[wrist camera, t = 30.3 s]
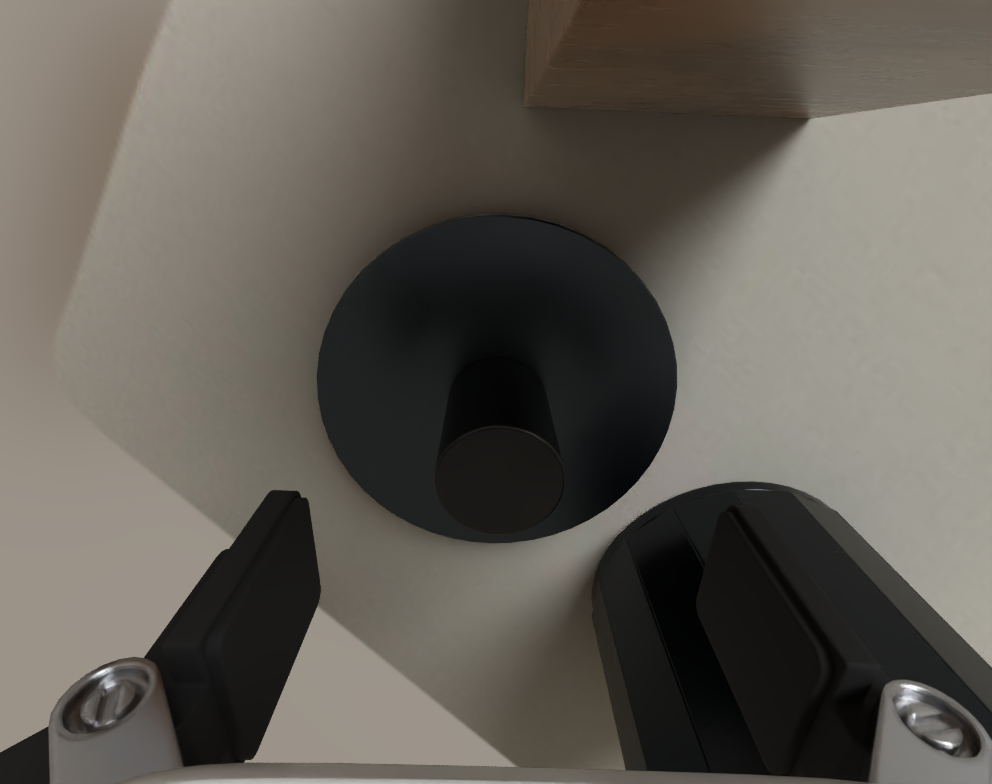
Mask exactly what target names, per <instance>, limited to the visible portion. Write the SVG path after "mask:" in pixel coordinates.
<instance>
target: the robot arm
mask: <svg viewBox="0 0 992 784" xmlns="http://www.w3.org/2000/svg"><path fill="white" fill-rule="evenodd" d="M320 593H321V585H320V578H319V571H318V564H317V557H316V550H315V543H314V536H313V529H312V522H311V515H310V508H309V502H308V499H307V498H301V495H300V493H299V492H298V491H282V490H272V491H270V492H269V493H268V494H267V496H266V497H265V499H264V500H263V502H262V503H261V504H260V506H259V507H258V509H257V510H256V511H255V513H254V514H253V516H252V517H251V519H250V520H249V521H248V523H247V524H246V526H245V527H244V528H243V530H242V531H241V533H240V534H239V536H238V537H237V538H236V540H235V541H234V543H233V544H232V546H231V547H230V548H229V549H226V550H224V551H222V552H221V553H220V554H219V555H218V556H217V557H216V559H215V560H214V562H213V563H212V564H211V566H210V567H209V569H208V570H207V571H206V572H205V574H204V575H203V577H202V578H201V579H200V581H199V582H198V584H197V585H196V586H195V588H194V589H193V590H192V592H191V593H190V595H189V596H188V597H187V599H186V600H185V602H184V603H183V604H182V606H181V607H180V608H179V610H178V611H177V613H176V614H175V615H174V617H173V618H172V620H171V621H170V622H169V624H168V625H167V627H166V628H165V629H164V631H163V632H162V633H161V635H160V636H159V638H158V639H157V640H156V642H155V643H154V645H153V646H152V647H151V649H150V650H149V651H148V653H147V654H146V656H145V657H144V658H138V657H132V658H125V659H119V660H116V661H113V662H110V663H108V664H105V665H102V666H100V667H99V668H97V669H95V670H93V671H91V672H90V673H88V674H86V675H85V676H84V677H82V678H81V679H80V680H79V681H77V682H76V683H75V684H73V685H72V686H71V687H70V688H69V689H68V690H67V691H66V693H64V695H63V696H62V697H61V698H60V699H59V701H58V702H57V704H56V706H55V707H54V709H53V711H52V712H51V716H50V721H49V726H48V727H46V728H45V729H43V730H41V731H39V732H37V733H36V734H34V735H32V736H30V737H28V738H26V739H24V740H23V741H21V742H19V743H17V744H15V745H13V746H11V747H10V748H8V749H6V750H4V751H2V752H0V784H992V740H991V738H990V737H989V735H988V734H987V732H986V731H985V729H984V728H983V726H982V725H981V724H980V723H979V722H978V720H977V719H976V718H975V717H974V716H973V715H972V714H971V713H970V712H969V711H968V710H966V709H965V708H964V707H963V706H961V705H960V704H959V703H958V702H956V701H955V700H954V699H952V698H951V697H949V696H947V695H945V694H944V693H942V692H940V691H939V690H937V689H935V688H932V687H930V686H927V685H925V684H923V683H920V682H915V681H910V680H893V681H891V680H890V679H889V678H888V677H887V675H886V674H885V673H884V671H883V670H882V669H881V665H880V664H879V663H878V661H877V660H876V659H875V658H874V656H873V655H872V654H871V652H870V651H869V650H868V648H867V647H866V646H865V645H864V643H863V642H862V641H861V639H860V638H859V637H858V635H857V634H856V633H855V631H854V630H853V629H852V628H851V626H850V625H849V624H848V622H847V621H846V620H845V618H844V617H843V616H842V614H841V613H840V612H839V611H838V609H837V608H836V607H835V605H834V604H833V603H832V601H831V600H830V599H829V598H828V596H827V595H826V594H825V592H824V591H823V590H822V588H821V587H820V586H819V584H818V583H817V582H816V581H815V579H814V578H813V577H812V575H811V574H810V573H809V571H808V570H807V569H806V567H805V566H804V565H803V564H802V562H801V561H800V560H799V558H798V557H797V556H796V554H795V553H794V552H793V551H792V549H791V548H790V547H789V545H788V544H787V543H786V541H785V540H784V539H783V537H782V536H781V535H780V534H779V532H778V531H777V530H776V528H775V527H774V526H773V524H772V523H771V522H770V520H769V519H768V518H767V517H766V515H765V514H764V513H763V511H762V510H761V509H760V508H759V507H757V506H739V505H731V506H729V507H728V508H727V510H726V512H725V511H723V512H721V513H720V514H719V517H718V521H717V524H716V528H715V532H714V535H713V539H712V543H711V546H710V550H709V554H708V557H707V561H706V565H705V569H704V572H703V576H702V580H701V583H700V587H699V591H698V594H697V599H696V608H697V613H698V616H699V618H700V620H701V623H702V625H703V627H704V629H705V632H706V634H707V636H708V638H709V641H710V643H711V645H712V647H713V650H714V652H715V654H716V656H717V659H718V661H719V663H720V665H721V668H722V670H723V672H724V674H725V677H726V679H727V681H728V683H729V686H730V688H731V690H732V692H733V694H734V697H735V699H736V701H737V703H738V706H739V708H740V710H741V712H742V715H743V717H744V719H745V721H746V724H747V726H748V728H749V730H750V733H751V735H752V737H753V739H754V742H755V744H756V746H757V748H758V751H759V753H760V755H761V757H762V760H763V762H764V764H765V766H766V768H767V769H768V770H769V772H770V773H772V774H777V776H770V775H751V774H724V773H693V772H663V771H632V770H600V769H564V768H527V767H489V766H488V767H486V766H448V765H447V766H445V765H401V764H399V765H398V764H353V763H244V761H245V760H251V759H253V758H254V756H255V755H256V753H257V751H258V748H259V746H260V744H261V741H262V739H263V737H264V734H265V732H266V729H267V727H268V725H269V722H270V720H271V717H272V715H273V712H274V710H275V707H276V705H277V702H278V700H279V698H280V695H281V693H282V690H283V688H284V686H285V683H286V681H287V678H288V676H289V674H290V671H291V669H292V666H293V664H294V661H295V659H296V657H297V654H298V652H299V649H300V647H301V644H302V642H303V640H304V637H305V635H306V632H307V630H308V627H309V625H310V622H311V620H312V618H313V615H314V613H315V610H316V608H317V606H318V603H319V599H320Z"/></svg>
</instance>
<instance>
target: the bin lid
mask: <svg viewBox="0 0 992 784" xmlns="http://www.w3.org/2000/svg"><path fill="white" fill-rule="evenodd" d="M317 388H318V400H319V405H320V410H321V416H322V420H323V423H324V426H325V429H326V432H327V434H328V437H329V440H330V442H331V444H332V446H333V448H334V450H335V452H336V454H337V456H338V458H339V459H340V461H341V462H342V463H343V465H344V466H345V468H346V469H347V471H348V472H349V474H350V475H351V476H352V477H353V478H354V480H355V481H356V482H357V483H358V484H359V485H360V486H361V488H362V489H363V490H364V491H365V492H367V493H368V494H369V495H370V496H371V497H372V498H373V499H374V500H376V501H377V502H378V503H379V504H380V505H382V506H383V507H385V508H386V509H388V510H389V511H390V512H392V513H393V514H395V515H396V516H398V517H400V518H402V519H404V520H406V521H407V522H409V523H411V524H413V525H415V526H418V527H420V528H423V529H425V530H427V531H430V532H432V533H436V534H439V535H443V536H446V537H450V538H454V539H460V540H465V541H471V542H483V543H512V542H520V541H527V540H534V539H538V538H542V537H546V536H550V535H554V534H557V533H559V532H562V531H565V530H568V529H571V528H573V527H575V526H577V525H579V524H581V523H583V522H585V521H588V520H590V519H591V518H593V517H594V516H596V515H598V514H599V513H601V512H602V511H604V510H606V509H607V508H608V507H610V506H611V505H612V504H613V503H615V502H616V501H617V500H618V499H620V498H621V497H622V496H623V495H624V494H625V493H626V492H627V491H628V490H629V489H630V488H631V487H632V486H633V485H634V484H635V483H636V482H637V481H638V480H639V479H640V477H641V476H642V475H643V474H644V472H645V471H646V470H647V468H648V467H649V466H650V464H651V463H652V461H653V459H654V458H655V456H656V454H657V453H658V451H659V449H660V447H661V445H662V443H663V440H664V438H665V436H666V433H667V431H668V429H669V425H670V422H671V418H672V414H673V411H674V406H675V398H676V391H677V364H676V358H675V351H674V345H673V341H672V338H671V335H670V332H669V328H668V325H667V322H666V320H665V318H664V316H663V314H662V312H661V310H660V308H659V306H658V304H657V302H656V300H655V298H654V297H653V296H652V294H651V293H650V291H649V290H648V288H647V287H646V285H645V284H644V283H643V281H642V280H641V279H640V278H639V277H638V276H637V275H636V274H635V273H634V272H633V270H632V269H631V268H630V267H629V266H628V265H627V264H626V263H625V262H624V261H622V260H621V259H620V258H619V257H617V256H616V255H615V254H614V253H612V252H611V251H610V250H609V249H607V248H606V247H605V246H603V245H602V244H600V243H598V242H597V241H595V240H593V239H591V238H590V237H588V236H586V235H585V234H583V233H581V232H579V231H576V230H574V229H571V228H569V227H566V226H564V225H561V224H559V223H556V222H552V221H548V220H544V219H540V218H536V217H532V216H524V215H515V214H506V213H502V214H477V215H471V216H465V217H460V218H454V219H450V220H447V221H444V222H441V223H437V224H434V225H431V226H428V227H426V228H424V229H422V230H419V231H417V232H415V233H413V234H411V235H409V236H407V237H405V238H403V239H402V240H400V241H399V242H397V243H396V244H394V245H393V246H391V247H390V248H388V249H387V250H385V251H384V252H382V253H381V254H380V255H379V256H378V257H377V258H376V259H374V260H373V261H372V262H371V263H370V264H369V265H368V266H367V267H366V268H365V269H363V270H362V271H361V272H360V274H359V275H358V276H357V277H356V278H355V280H354V281H353V282H352V283H351V285H350V286H349V287H348V288H347V289H346V291H345V292H344V294H343V296H342V297H341V299H340V301H339V302H338V304H337V306H336V307H335V309H334V311H333V313H332V315H331V318H330V320H329V323H328V325H327V327H326V330H325V332H324V336H323V340H322V344H321V348H320V352H319V360H318V370H317Z"/></svg>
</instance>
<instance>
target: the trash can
mask: <svg viewBox="0 0 992 784" xmlns="http://www.w3.org/2000/svg"><path fill="white" fill-rule="evenodd" d="M731 505H739V506H757V507H759V508H760V509H761V510H762V511H763V513H764V514H765V515H766V517H767V518H768V519H769V520H770V522H771V523H772V524H773V526H774V527H775V528H776V530H777V531H778V532H779V534H780V535H781V536H782V537H783V539H784V540H785V541H786V543H787V544H788V545H789V547H790V548H791V549H792V551H793V552H794V553H795V554H796V556H797V557H798V558H799V560H800V561H801V562H802V564H803V565H804V566H805V567H806V569H807V570H808V571H809V573H810V574H811V575H812V577H813V578H814V579H815V581H816V582H817V583H818V584H819V586H820V587H821V588H822V590H823V591H824V592H825V594H826V595H827V596H828V598H829V599H830V600H831V601H832V603H833V604H834V605H835V607H836V608H837V609H838V611H839V612H840V613H841V614H842V616H843V617H844V618H845V620H846V621H847V622H848V624H849V625H850V626H851V628H852V629H853V630H854V631H855V633H856V634H857V635H858V637H859V638H860V639H861V641H862V642H863V643H864V645H865V646H866V647H867V648H868V650H869V651H870V652H871V654H872V655H873V656H874V658H875V659H876V660H877V661H878V663H879V664H880V665H881V669H882V670H883V671H884V673H885V674H886V675H887V677H888V678H889V679H890V680H891V681H893V680H910V681H915V682H920V683H923V684H925V685H927V686H930V687H932V688H935V689H937V690H939V691H940V692H942V693H944V694H945V695H947V696H949V697H951V698H952V699H954V700H955V701H956V702H958V703H959V704H960V705H961V706H963V707H964V708H965V709H966V710H968V711H969V712H970V713H971V714H972V715H973V716H974V717H975V718H976V719H977V720H978V722H979V723H980V724H981V725H982V726H983V728H984V729H985V731H986V732H987V734H988V735H989V737H990V738H991V740H992V667H991V666H990V665H989V664H988V663H987V662H986V661H985V660H984V659H983V658H982V657H981V656H980V655H979V654H978V653H977V652H976V651H975V650H974V649H973V648H972V647H971V646H970V645H969V644H968V643H967V642H966V641H965V640H964V639H963V638H962V637H961V636H960V635H959V634H958V633H957V632H956V631H955V630H954V629H953V628H952V627H951V626H950V625H949V624H948V623H947V622H946V621H945V620H944V619H943V618H942V617H941V616H940V615H939V614H938V613H937V612H936V611H935V610H934V609H933V608H932V607H931V606H930V605H929V604H928V603H927V602H926V601H925V600H924V599H923V598H922V597H921V596H920V595H919V594H918V593H917V592H916V591H915V590H914V589H913V588H912V587H911V586H910V585H909V584H908V583H907V582H906V581H905V580H904V579H903V578H902V577H901V576H900V575H899V574H898V573H897V572H896V571H895V570H894V569H893V568H892V567H891V566H890V565H889V564H888V563H887V562H886V561H885V560H884V559H883V558H882V557H881V556H880V555H879V554H878V553H877V552H876V551H875V550H874V549H873V548H872V547H871V546H870V545H869V544H868V543H867V542H866V540H865V539H864V538H863V537H862V536H861V535H860V534H859V533H858V532H857V531H856V530H855V529H854V528H853V527H852V526H851V525H850V524H849V523H848V522H847V521H846V520H845V519H844V518H843V517H842V516H841V515H840V514H839V513H838V512H837V511H835V510H833V509H831V508H830V507H828V506H827V505H826V504H824V503H823V502H821V501H820V500H819V499H817V498H815V497H813V496H811V495H809V494H807V493H805V492H802V491H799V490H796V489H793V488H791V487H787V486H782V485H778V484H773V483H763V482H732V483H724V484H717V485H712V486H708V487H704V488H700V489H696V490H693V491H690V492H687V493H684V494H681V495H679V496H676V497H674V498H672V499H670V500H668V501H666V502H663V503H661V504H660V505H658V506H656V507H655V508H653V509H651V510H650V511H648V512H646V513H645V514H643V515H642V516H641V517H639V518H638V519H637V520H636V521H634V522H633V523H632V524H630V525H629V526H628V527H627V528H626V529H625V530H624V531H623V532H622V533H621V534H620V535H619V536H618V537H617V539H616V540H615V541H614V542H613V544H612V545H611V546H610V547H609V549H608V550H607V552H606V554H605V555H604V557H603V559H602V560H601V562H600V565H599V567H598V570H597V572H596V575H595V579H594V583H593V587H592V608H593V612H592V619H593V624H594V628H595V633H596V637H597V642H598V646H599V651H600V655H601V660H602V664H603V669H604V673H605V678H606V682H607V687H608V691H609V696H610V700H611V705H612V709H613V714H614V718H615V723H616V727H617V732H618V736H619V741H620V745H621V750H622V754H623V759H624V763H625V768H626V770H632V771H663V772H693V773H724V774H751V775H770V776H777V774H772V773H770V772H769V770H768V769H767V768H766V766H765V764H764V762H763V760H762V757H761V755H760V753H759V751H758V748H757V746H756V744H755V742H754V739H753V737H752V735H751V733H750V730H749V728H748V726H747V724H746V721H745V719H744V717H743V715H742V712H741V710H740V708H739V706H738V703H737V701H736V699H735V697H734V694H733V692H732V690H731V688H730V686H729V683H728V681H727V679H726V677H725V674H724V672H723V670H722V668H721V665H720V663H719V661H718V659H717V656H716V654H715V652H714V650H713V647H712V645H711V643H710V641H709V638H708V636H707V634H706V632H705V629H704V627H703V625H702V623H701V620H700V618H699V616H698V613H697V608H696V599H697V594H698V591H699V587H700V583H701V580H702V576H703V572H704V569H705V565H706V561H707V557H708V554H709V550H710V546H711V543H712V539H713V535H714V532H715V528H716V524H717V521H718V517H719V514H720V513H721V512H723V511H725V512H726V510H727V508H728V507H729V506H731Z"/></svg>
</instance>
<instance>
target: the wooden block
mask: <svg viewBox="0 0 992 784" xmlns="http://www.w3.org/2000/svg"><path fill="white" fill-rule="evenodd" d="M990 93H992V0H529V6H528V26H527V45H526V65H525V84H524V105H525V106H531V107H555V108H578V109H602V110H625V111H648V112H672V113H695V114H719V115H742V116H765V117H789V118H819V117H826V116H833V115H840V114H847V113H854V112H861V111H868V110H876V109H883V108H890V107H897V106H904V105H911V104H918V103H925V102H933V101H940V100H947V99H954V98H961V97H968V96H975V95H982V94H990Z"/></svg>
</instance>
